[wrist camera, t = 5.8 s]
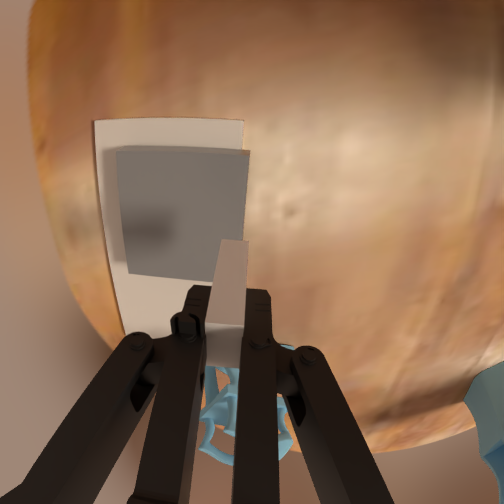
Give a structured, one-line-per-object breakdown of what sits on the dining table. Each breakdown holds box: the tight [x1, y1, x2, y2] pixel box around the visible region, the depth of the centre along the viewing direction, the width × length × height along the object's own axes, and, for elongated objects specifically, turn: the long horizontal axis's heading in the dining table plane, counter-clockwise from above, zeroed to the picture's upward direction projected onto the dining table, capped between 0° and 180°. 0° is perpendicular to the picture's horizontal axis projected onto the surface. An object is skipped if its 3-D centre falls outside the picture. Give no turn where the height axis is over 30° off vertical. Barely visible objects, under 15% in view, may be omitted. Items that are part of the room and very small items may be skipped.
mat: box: [95, 117, 244, 339], centre depth 25 cm, size 22×11×1 cm, turn 175°
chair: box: [198, 345, 294, 466], centre depth 26 cm, size 8×8×12 cm
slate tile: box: [116, 146, 250, 282], centre depth 22 cm, size 10×2×9 cm
